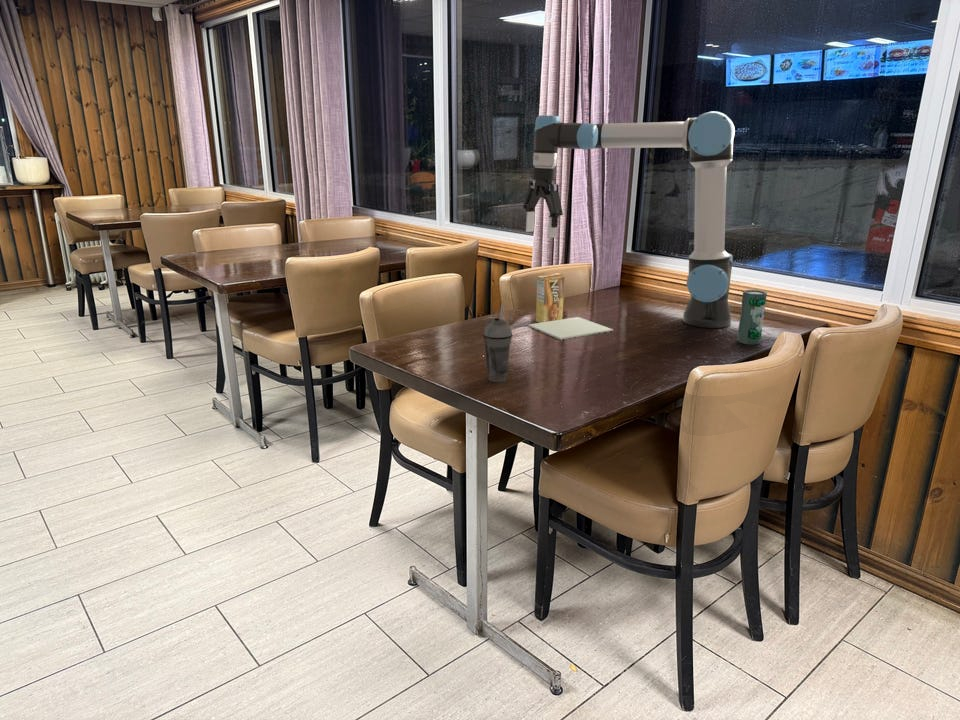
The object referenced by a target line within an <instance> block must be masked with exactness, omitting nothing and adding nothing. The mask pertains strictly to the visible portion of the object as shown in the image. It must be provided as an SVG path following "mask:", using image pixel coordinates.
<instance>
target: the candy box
mask: <svg viewBox="0 0 960 720" xmlns="http://www.w3.org/2000/svg"><path fill="white" fill-rule="evenodd" d="M564 288H565V274H562V273H557V272H556V273H549V274H544V275H543V274H542V275H537V277H536V306H535V307H536V309H535V323H541V322H548V321H555V320H561V319H563V316H564V315H563V312H564V311H563V310H564V293H565V289H564Z"/></svg>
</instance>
